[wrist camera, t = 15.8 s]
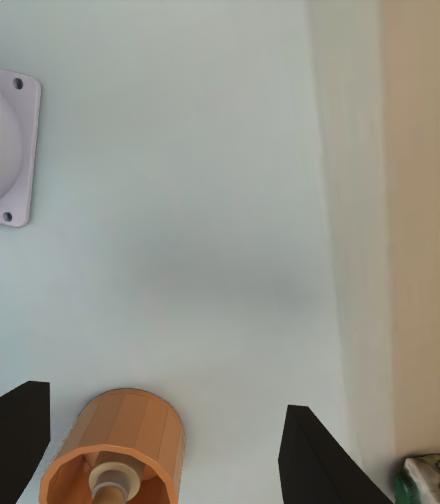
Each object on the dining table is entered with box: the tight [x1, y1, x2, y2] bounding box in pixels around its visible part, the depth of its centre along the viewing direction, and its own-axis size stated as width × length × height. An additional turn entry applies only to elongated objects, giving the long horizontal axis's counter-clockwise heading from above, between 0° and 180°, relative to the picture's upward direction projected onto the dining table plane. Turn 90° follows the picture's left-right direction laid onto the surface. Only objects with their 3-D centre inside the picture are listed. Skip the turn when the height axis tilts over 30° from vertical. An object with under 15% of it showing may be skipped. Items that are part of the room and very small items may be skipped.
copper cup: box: [39, 389, 185, 504], centre depth 20 cm, size 8×8×5 cm
